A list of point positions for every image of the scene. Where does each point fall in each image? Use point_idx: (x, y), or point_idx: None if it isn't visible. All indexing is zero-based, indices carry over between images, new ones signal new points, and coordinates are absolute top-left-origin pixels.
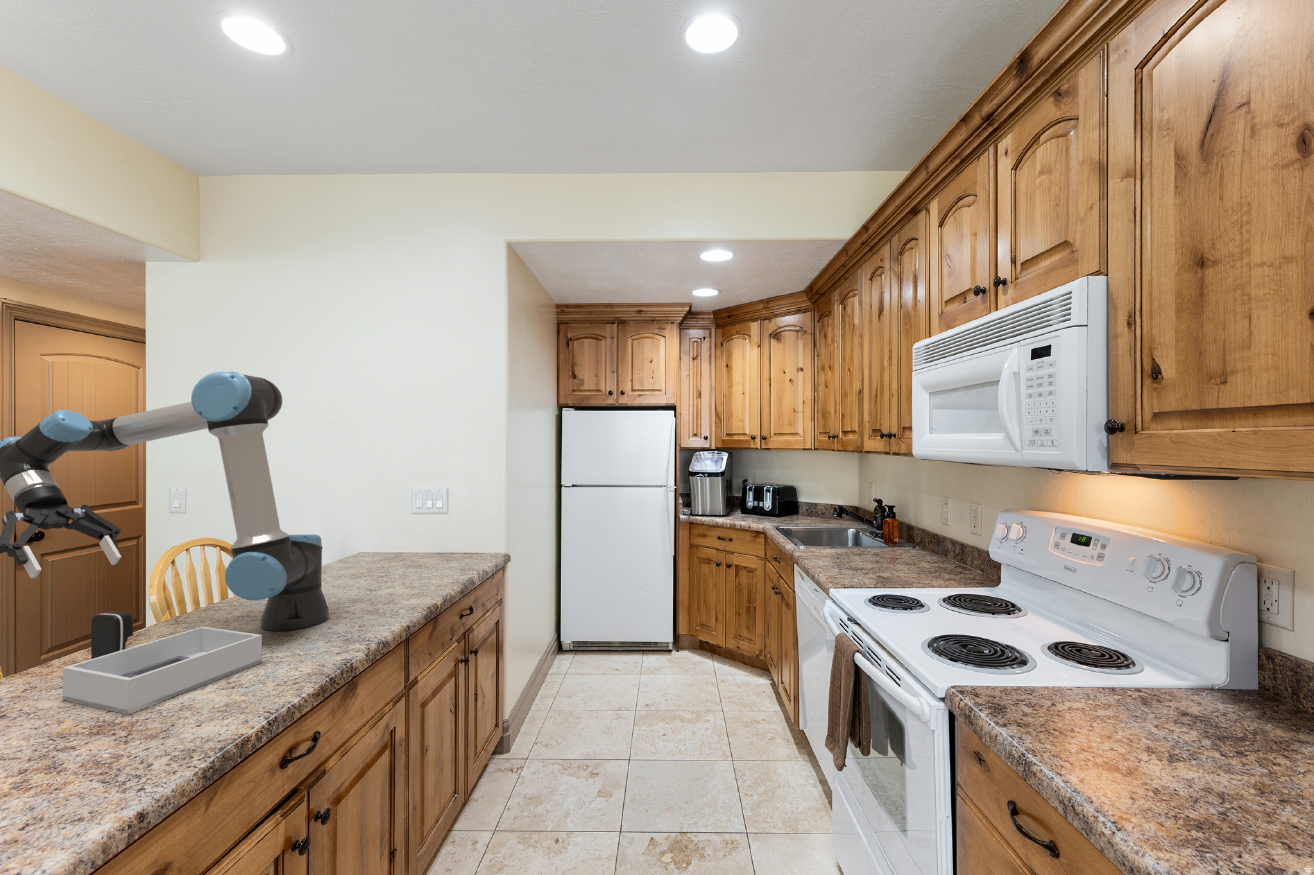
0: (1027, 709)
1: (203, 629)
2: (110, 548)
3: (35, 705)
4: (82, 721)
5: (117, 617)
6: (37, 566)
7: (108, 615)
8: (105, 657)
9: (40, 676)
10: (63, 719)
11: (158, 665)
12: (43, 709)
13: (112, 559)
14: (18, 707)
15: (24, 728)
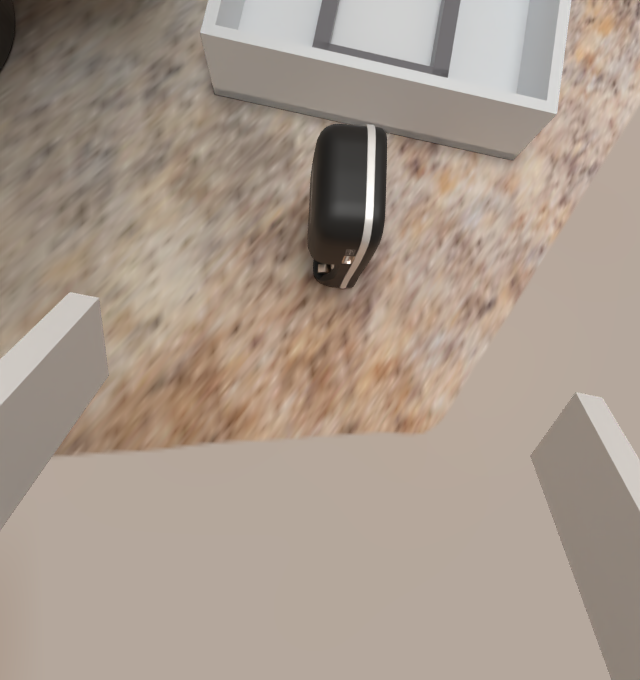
0: None
1: (218, 17)
2: (31, 391)
3: (541, 193)
4: (576, 26)
5: (375, 129)
6: (602, 417)
7: (381, 158)
8: (472, 85)
9: (412, 369)
10: (577, 69)
11: (372, 55)
12: (552, 155)
13: (92, 363)
14: (556, 218)
15: (619, 103)
